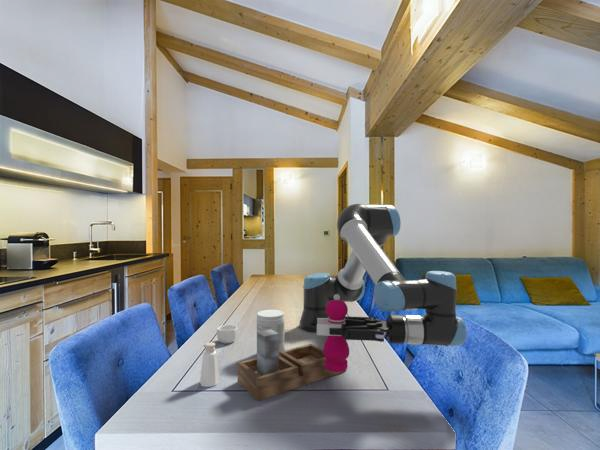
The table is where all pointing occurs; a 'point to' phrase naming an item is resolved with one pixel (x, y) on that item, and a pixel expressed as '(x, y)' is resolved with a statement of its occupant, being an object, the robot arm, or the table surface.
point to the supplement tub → (272, 324)
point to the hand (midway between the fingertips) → (317, 326)
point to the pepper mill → (336, 337)
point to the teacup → (227, 333)
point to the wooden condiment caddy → (280, 367)
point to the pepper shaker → (209, 366)
